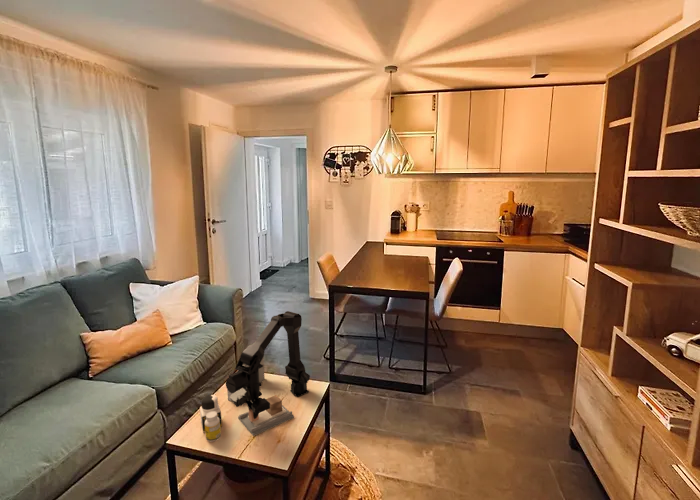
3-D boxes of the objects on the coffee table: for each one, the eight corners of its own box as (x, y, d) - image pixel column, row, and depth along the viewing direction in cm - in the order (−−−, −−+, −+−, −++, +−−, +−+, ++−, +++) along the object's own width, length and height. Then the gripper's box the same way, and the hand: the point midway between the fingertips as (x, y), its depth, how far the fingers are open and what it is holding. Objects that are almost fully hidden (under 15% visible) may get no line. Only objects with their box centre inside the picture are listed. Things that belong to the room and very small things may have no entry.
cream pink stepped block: (278, 404, 162) (278, 394, 161) (286, 412, 157) (286, 402, 156) (246, 418, 153) (246, 407, 152) (254, 426, 148) (253, 415, 147)
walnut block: (276, 405, 160) (276, 394, 159) (282, 411, 157) (281, 400, 156) (265, 410, 157) (265, 399, 156) (271, 415, 153) (270, 404, 153)
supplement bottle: (205, 434, 145) (203, 411, 143) (220, 431, 147) (218, 408, 145) (206, 443, 140) (204, 420, 138) (221, 440, 142) (219, 416, 140)
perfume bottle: (251, 378, 186) (249, 344, 183) (264, 379, 185) (263, 344, 182) (246, 385, 180) (244, 350, 177) (259, 386, 179) (257, 351, 176)
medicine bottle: (203, 432, 146) (200, 404, 144) (200, 422, 152) (198, 395, 150) (222, 427, 149) (220, 399, 147) (219, 417, 156) (217, 390, 153)
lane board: (277, 402, 166) (277, 397, 165) (293, 417, 155) (293, 412, 155) (238, 418, 155) (238, 413, 154) (253, 436, 144) (252, 431, 144)
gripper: (223, 378, 150) (225, 413, 153) (242, 398, 136) (244, 437, 139) (249, 369, 157) (251, 403, 160) (270, 388, 143) (271, 425, 146)
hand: (253, 416), depth 151 cm, fingers closed on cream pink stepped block, 2 cm apart
